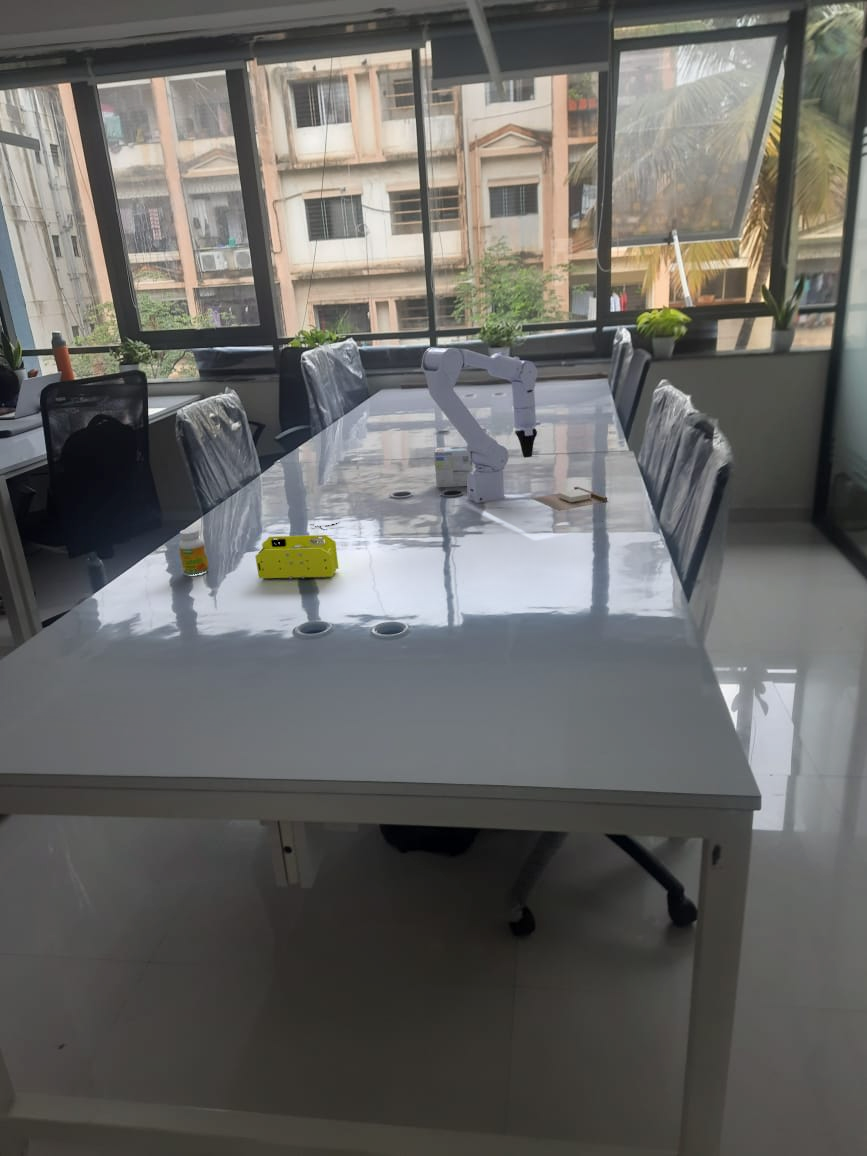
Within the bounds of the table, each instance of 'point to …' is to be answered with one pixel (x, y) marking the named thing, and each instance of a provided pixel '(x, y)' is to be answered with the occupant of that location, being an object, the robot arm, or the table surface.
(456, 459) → the light bulb box
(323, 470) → the table surface
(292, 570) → the yellow toy chassis
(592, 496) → the board
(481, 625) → the table surface
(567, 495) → the tile
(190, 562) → the supplement bottle
